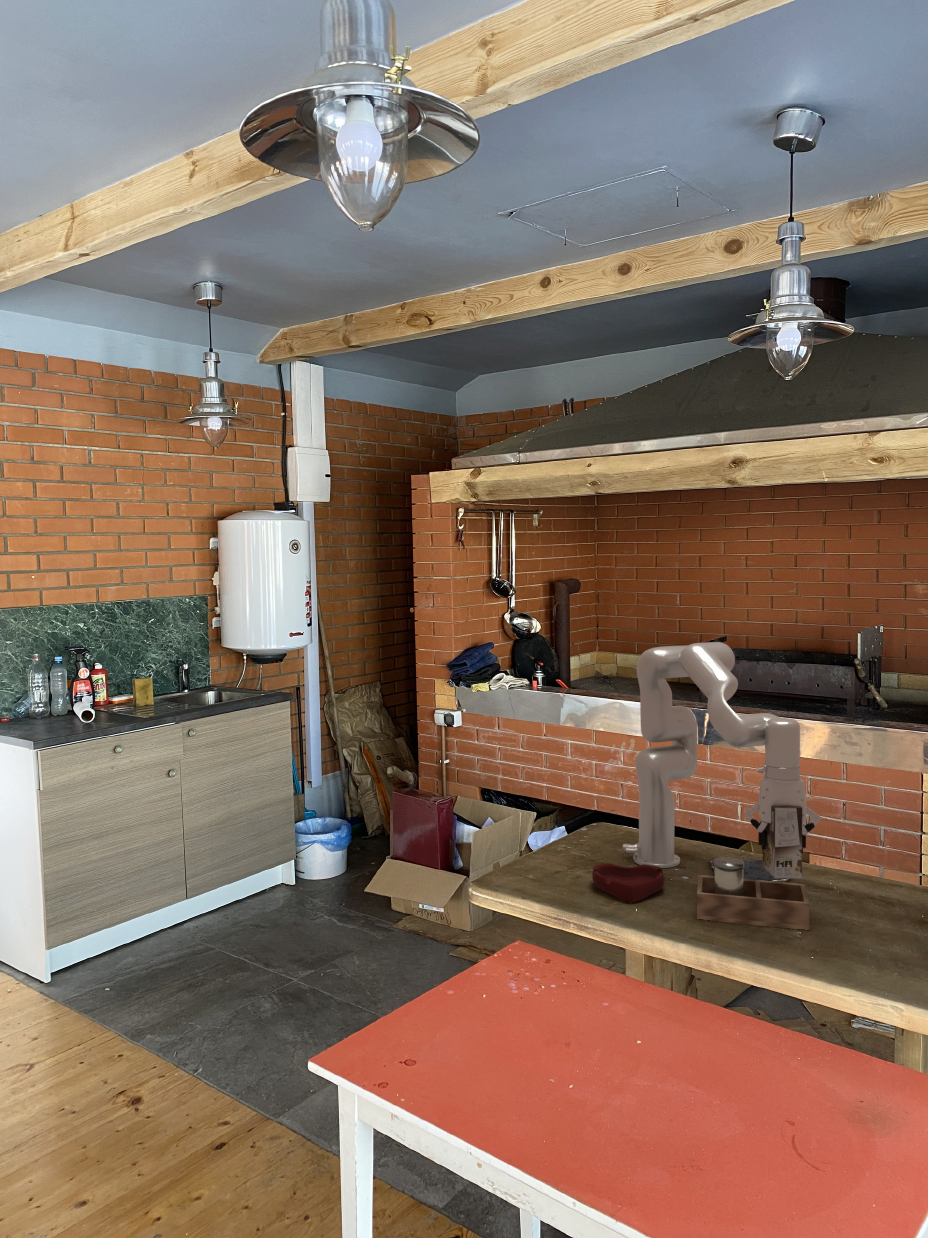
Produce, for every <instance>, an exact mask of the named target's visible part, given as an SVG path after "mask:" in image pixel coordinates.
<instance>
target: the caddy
mask: <svg viewBox="0 0 928 1238" xmlns="http://www.w3.org/2000/svg"><path fill="white" fill-rule="evenodd" d="M697 880H698V881H697V889H696V920H697V919H704V920H703V921H707V920H710V921H709V922H717V921H718V923H719V922H720V923H729V924H739V925H749V926H759V927H767V926H769V927H768V928H777V927H781V928H780V929H787V928H790V930H797V929H805V930H804V931H807V930H809V931H810V901H809V896H808V892H807V889H806V884H804V883H796V882H795V883H794V882H782V881H773V880H772V881H769V880H760V879H746V878H743V896H734V895H723V894H715V875H714V876H713V875H712V876H711V875H702V874H701V875H700V874H699V875H698V879H697Z"/></svg>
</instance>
